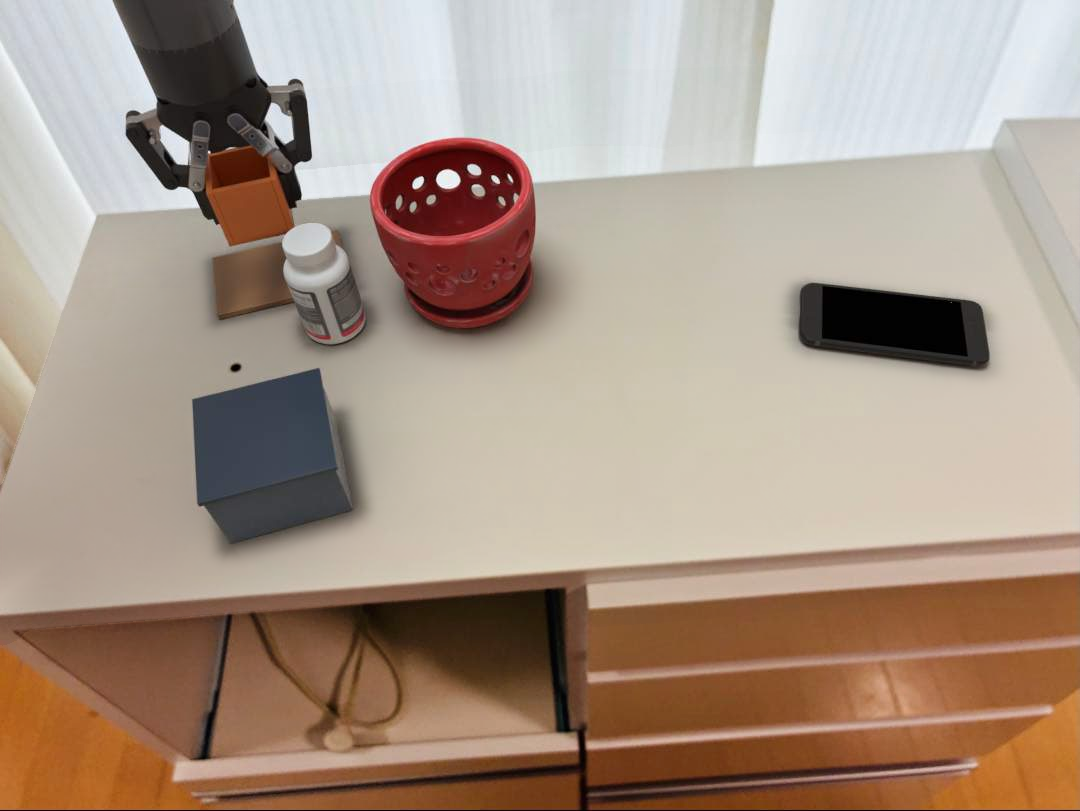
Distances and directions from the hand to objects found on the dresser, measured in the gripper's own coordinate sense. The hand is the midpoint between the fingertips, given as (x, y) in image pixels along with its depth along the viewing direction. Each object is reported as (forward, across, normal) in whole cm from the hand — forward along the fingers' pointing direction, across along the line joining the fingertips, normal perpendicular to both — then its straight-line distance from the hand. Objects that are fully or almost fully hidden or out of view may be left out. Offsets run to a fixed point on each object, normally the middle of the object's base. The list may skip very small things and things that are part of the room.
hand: (256, 209), depth 71 cm
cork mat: (+8, 0, 0) cm, 8 cm away
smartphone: (+8, +49, -24) cm, 55 cm away
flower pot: (+8, +16, -8) cm, 19 cm away
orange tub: (+1, 0, 0) cm, 1 cm away
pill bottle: (+8, +4, -8) cm, 12 cm away
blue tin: (+8, -2, -23) cm, 24 cm away
